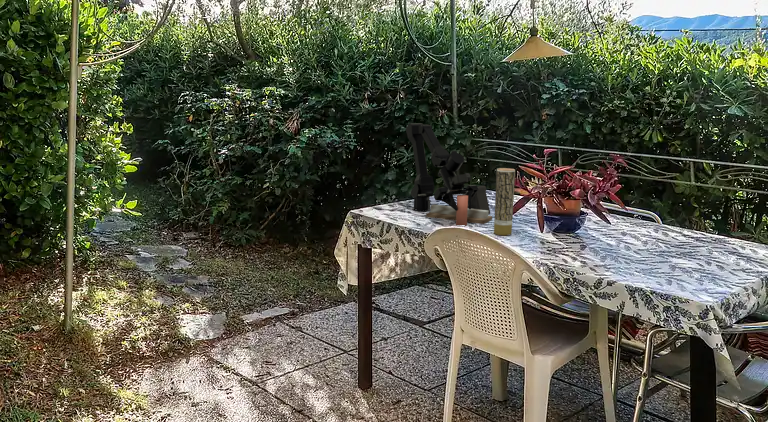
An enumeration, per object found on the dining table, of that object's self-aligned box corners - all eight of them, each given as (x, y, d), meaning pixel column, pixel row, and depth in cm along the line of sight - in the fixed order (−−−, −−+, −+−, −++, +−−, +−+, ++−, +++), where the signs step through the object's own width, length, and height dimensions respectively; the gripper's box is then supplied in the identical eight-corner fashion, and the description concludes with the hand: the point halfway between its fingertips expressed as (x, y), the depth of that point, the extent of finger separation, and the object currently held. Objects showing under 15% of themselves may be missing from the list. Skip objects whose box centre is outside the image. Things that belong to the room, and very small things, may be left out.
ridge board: (426, 217, 280) (426, 206, 279) (435, 212, 289) (435, 202, 288) (483, 224, 268) (484, 213, 267) (492, 219, 277) (492, 209, 276)
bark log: (511, 236, 248) (515, 171, 243) (493, 235, 249) (496, 170, 244) (511, 232, 254) (515, 168, 249) (494, 231, 256) (497, 167, 251)
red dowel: (454, 225, 265) (455, 196, 263) (458, 223, 269) (459, 194, 267) (464, 226, 263) (465, 197, 261) (468, 224, 267) (469, 195, 265)
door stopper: (490, 213, 289) (491, 186, 286) (481, 215, 285) (482, 188, 283) (475, 210, 296) (476, 184, 293) (466, 212, 292) (467, 185, 289)
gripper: (438, 167, 261) (452, 199, 253) (477, 165, 269) (492, 196, 262) (427, 184, 269) (441, 215, 262) (465, 181, 278) (479, 212, 270)
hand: (463, 209), depth 264 cm, fingers open, 6 cm apart
